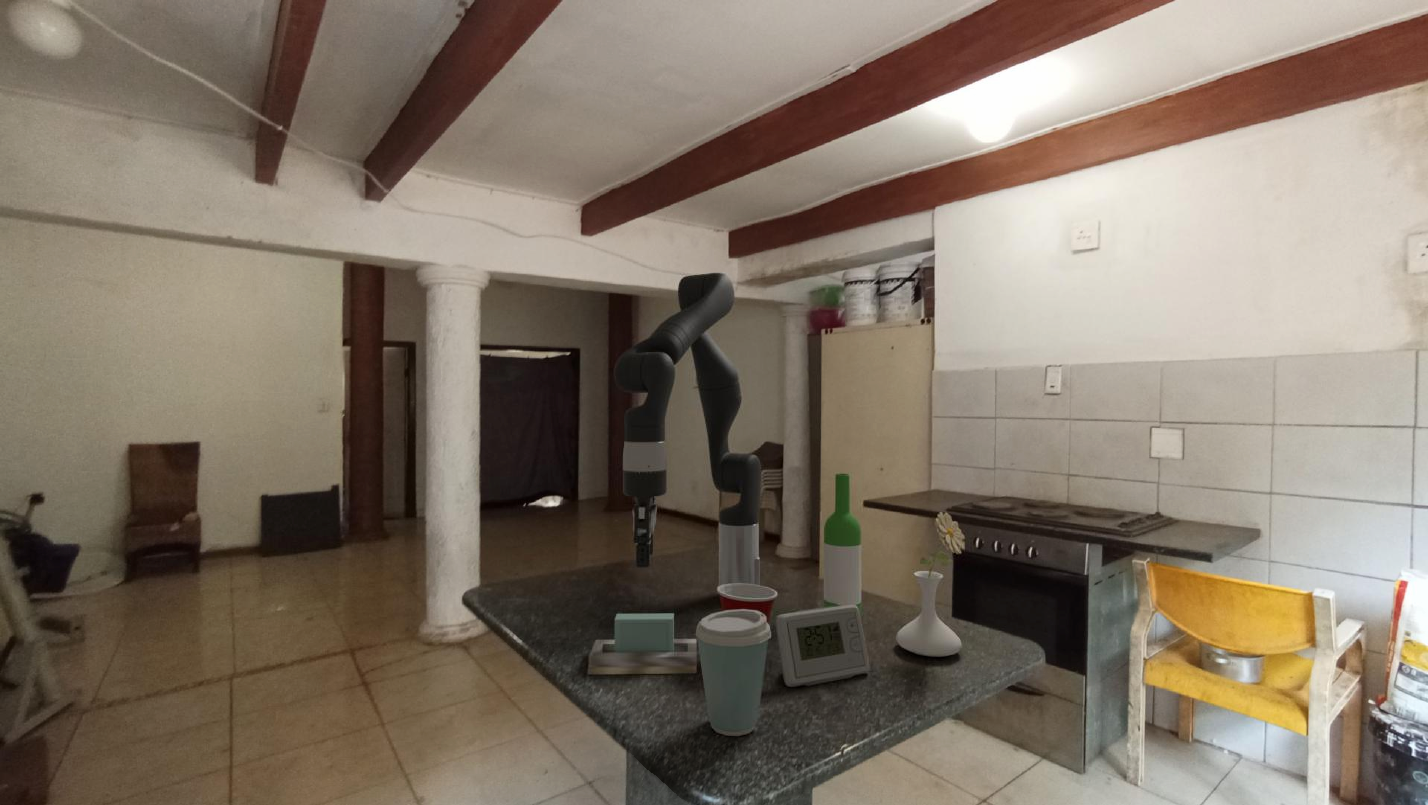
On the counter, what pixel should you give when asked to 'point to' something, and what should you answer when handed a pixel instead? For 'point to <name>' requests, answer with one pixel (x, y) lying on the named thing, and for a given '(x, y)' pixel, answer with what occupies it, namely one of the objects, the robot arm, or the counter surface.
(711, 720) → the disposable coffee cup
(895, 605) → the counter surface
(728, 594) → the plastic cup
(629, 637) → the green rectangular block
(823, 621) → the digital clock
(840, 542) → the wine bottle
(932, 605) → the flower in vase
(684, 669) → the board
